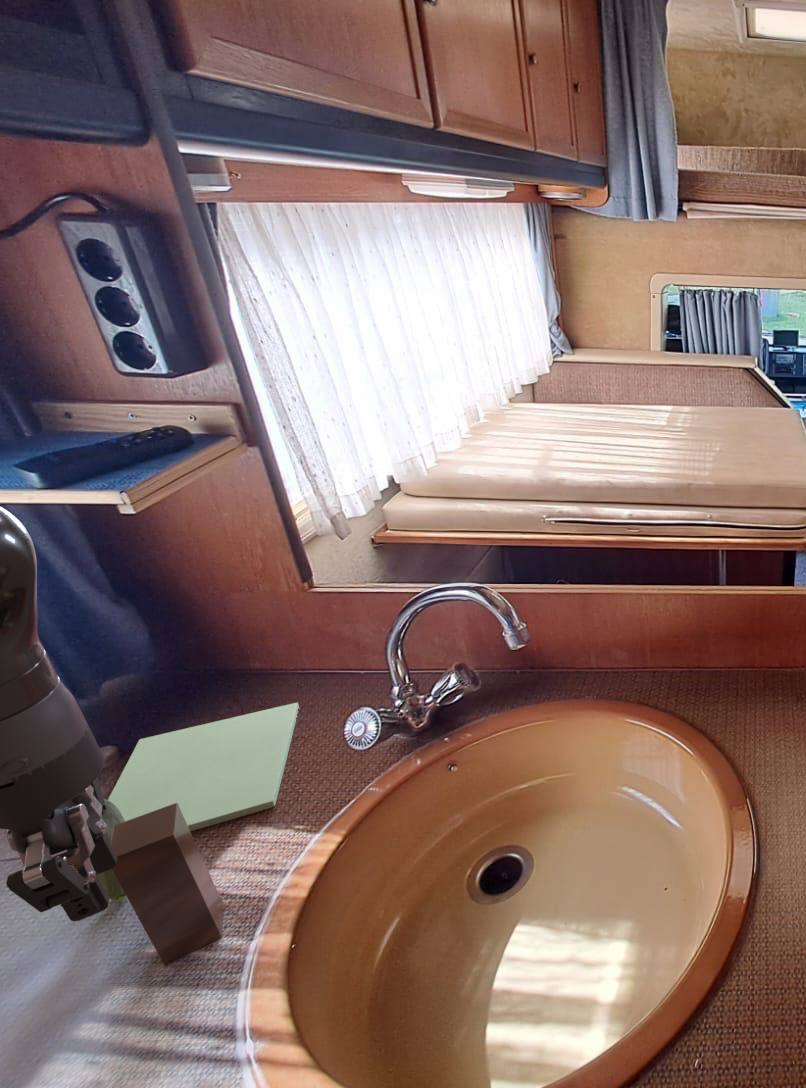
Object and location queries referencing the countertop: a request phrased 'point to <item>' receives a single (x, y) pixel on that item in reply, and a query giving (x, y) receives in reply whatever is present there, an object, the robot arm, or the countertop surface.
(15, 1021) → the countertop surface
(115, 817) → the vegetable
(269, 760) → the cutting board
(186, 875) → the walnut block
